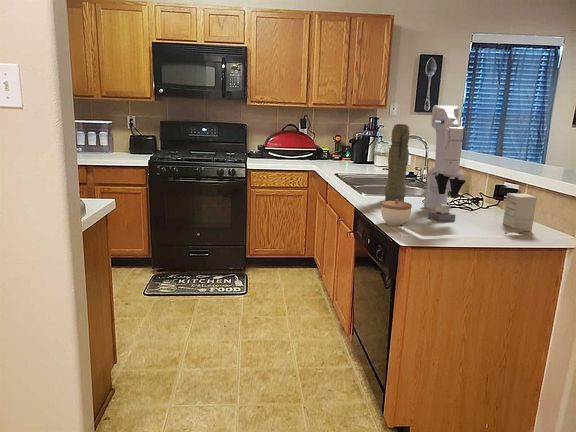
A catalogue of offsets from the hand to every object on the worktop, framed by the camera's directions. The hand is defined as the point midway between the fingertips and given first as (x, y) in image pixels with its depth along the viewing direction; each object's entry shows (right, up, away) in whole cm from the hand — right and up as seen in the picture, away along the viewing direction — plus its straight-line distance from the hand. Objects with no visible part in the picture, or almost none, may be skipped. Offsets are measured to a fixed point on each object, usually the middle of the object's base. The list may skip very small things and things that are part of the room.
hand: (447, 195), depth 167 cm
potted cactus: (-11, -1, +39) cm, 40 cm away
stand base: (-2, -10, +2) cm, 10 cm away
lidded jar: (-21, -11, -4) cm, 24 cm away
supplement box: (+24, -12, -5) cm, 27 cm away
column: (-2, -9, +1) cm, 9 cm away
